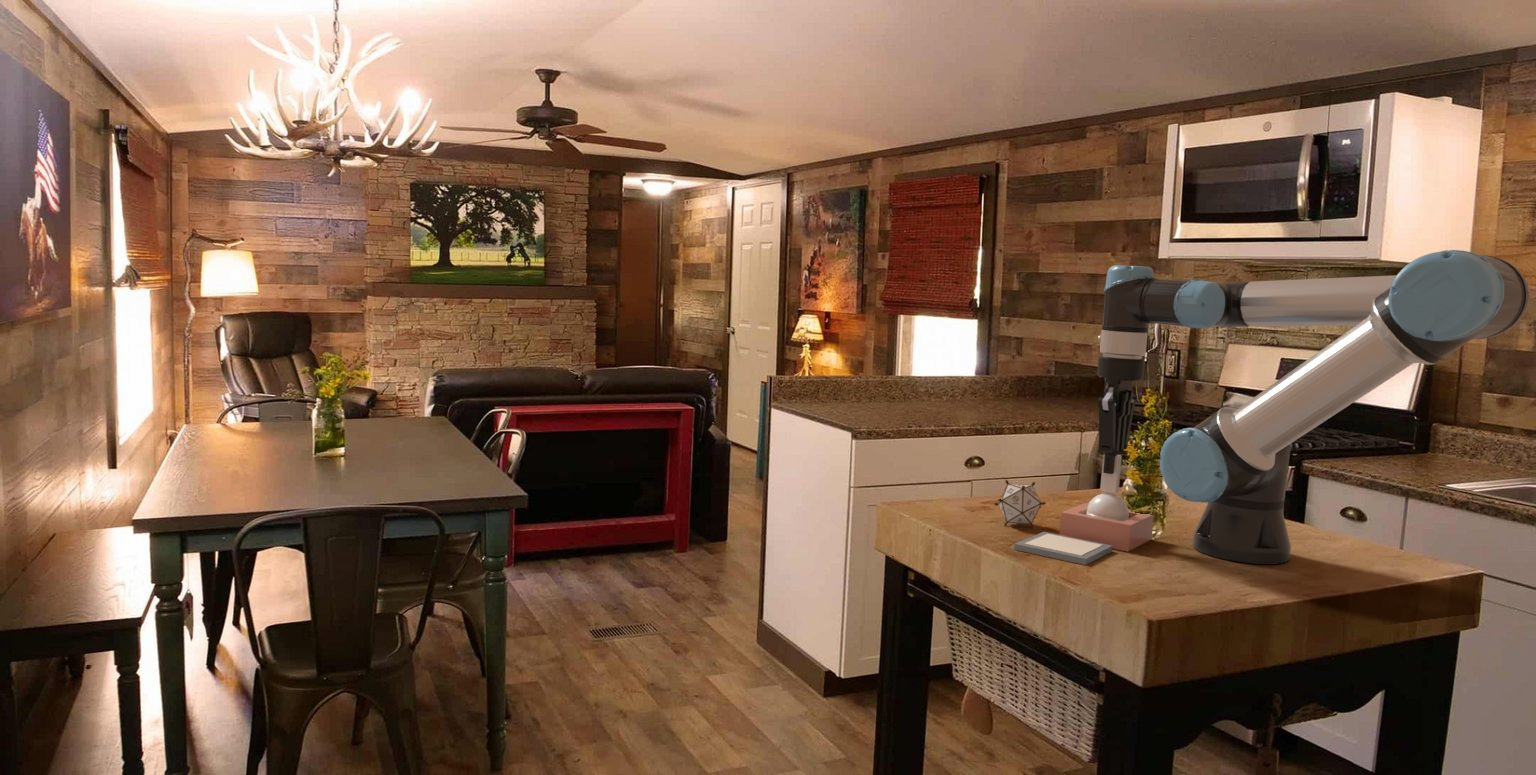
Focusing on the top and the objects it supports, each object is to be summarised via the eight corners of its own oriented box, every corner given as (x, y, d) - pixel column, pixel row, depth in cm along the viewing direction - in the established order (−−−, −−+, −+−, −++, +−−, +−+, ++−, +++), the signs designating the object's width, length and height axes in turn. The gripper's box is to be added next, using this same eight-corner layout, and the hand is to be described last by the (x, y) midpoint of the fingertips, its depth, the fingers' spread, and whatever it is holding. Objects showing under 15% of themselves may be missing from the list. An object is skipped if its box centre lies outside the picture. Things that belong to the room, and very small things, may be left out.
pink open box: (1151, 539, 184) (1153, 514, 184) (1128, 551, 175) (1130, 525, 174) (1084, 526, 191) (1086, 502, 191) (1059, 537, 182) (1061, 512, 181)
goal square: (1112, 551, 174) (1112, 545, 174) (1085, 565, 165) (1085, 558, 165) (1043, 537, 181) (1044, 531, 181) (1014, 549, 172) (1014, 543, 172)
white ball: (1132, 533, 183) (1136, 494, 183) (1118, 540, 178) (1122, 499, 177) (1093, 525, 188) (1097, 487, 187) (1078, 532, 182) (1082, 492, 181)
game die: (1021, 543, 191) (1051, 499, 193) (1029, 538, 183) (1060, 492, 185) (980, 514, 193) (1010, 471, 195) (986, 508, 185) (1017, 462, 187)
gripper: (1113, 353, 187) (1101, 483, 189) (1086, 355, 176) (1074, 492, 179) (1156, 357, 182) (1143, 490, 185) (1131, 359, 172) (1117, 500, 175)
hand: (1109, 491), depth 182 cm, fingers closed
